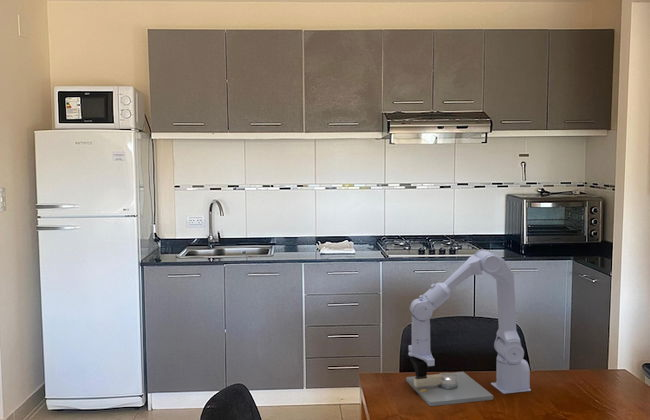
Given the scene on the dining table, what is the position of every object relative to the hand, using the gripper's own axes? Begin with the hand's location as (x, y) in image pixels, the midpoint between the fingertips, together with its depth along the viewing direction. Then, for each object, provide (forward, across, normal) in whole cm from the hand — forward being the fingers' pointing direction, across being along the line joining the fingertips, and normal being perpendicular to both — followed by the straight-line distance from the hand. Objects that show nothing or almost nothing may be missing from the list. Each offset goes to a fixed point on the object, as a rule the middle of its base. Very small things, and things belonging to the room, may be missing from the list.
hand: (421, 380), depth 170 cm
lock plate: (+3, +2, +8) cm, 9 cm away
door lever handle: (+2, +2, +4) cm, 5 cm away
